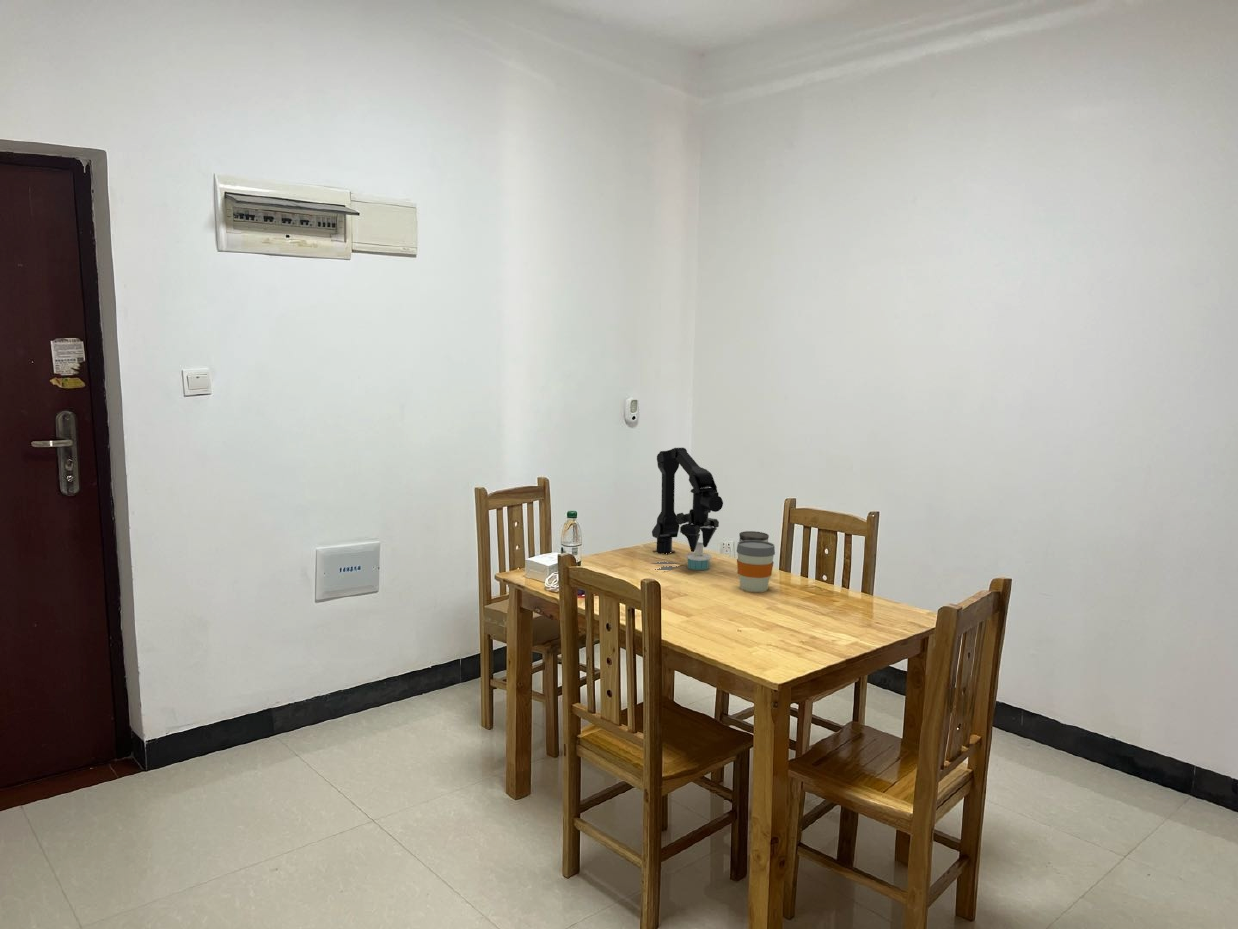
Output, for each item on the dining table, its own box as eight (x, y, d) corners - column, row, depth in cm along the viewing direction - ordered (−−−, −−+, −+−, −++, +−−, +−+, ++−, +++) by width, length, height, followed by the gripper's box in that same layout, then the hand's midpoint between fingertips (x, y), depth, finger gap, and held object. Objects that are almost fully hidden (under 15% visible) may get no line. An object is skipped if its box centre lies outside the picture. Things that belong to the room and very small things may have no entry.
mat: (660, 561, 319) (660, 560, 318) (683, 565, 313) (683, 564, 313) (639, 568, 307) (639, 567, 307) (663, 573, 301) (663, 572, 301)
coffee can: (748, 578, 299) (749, 538, 297) (732, 570, 308) (733, 532, 306) (772, 575, 303) (774, 536, 301) (756, 568, 312) (758, 530, 311)
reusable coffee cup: (771, 584, 291) (773, 541, 289) (774, 594, 279) (776, 549, 277) (734, 582, 293) (736, 539, 291) (735, 592, 280) (737, 547, 278)
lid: (693, 553, 315) (694, 539, 315) (715, 557, 310) (716, 543, 310) (681, 558, 308) (682, 543, 307) (703, 562, 303) (704, 547, 302)
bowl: (693, 564, 315) (694, 554, 315) (712, 568, 311) (713, 557, 310) (683, 568, 309) (683, 558, 308) (702, 572, 304) (702, 561, 304)
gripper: (693, 500, 319) (691, 541, 321) (667, 507, 303) (666, 550, 306) (720, 504, 313) (718, 546, 315) (695, 511, 297) (693, 555, 299)
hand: (698, 549), depth 309 cm, fingers open, 9 cm apart
